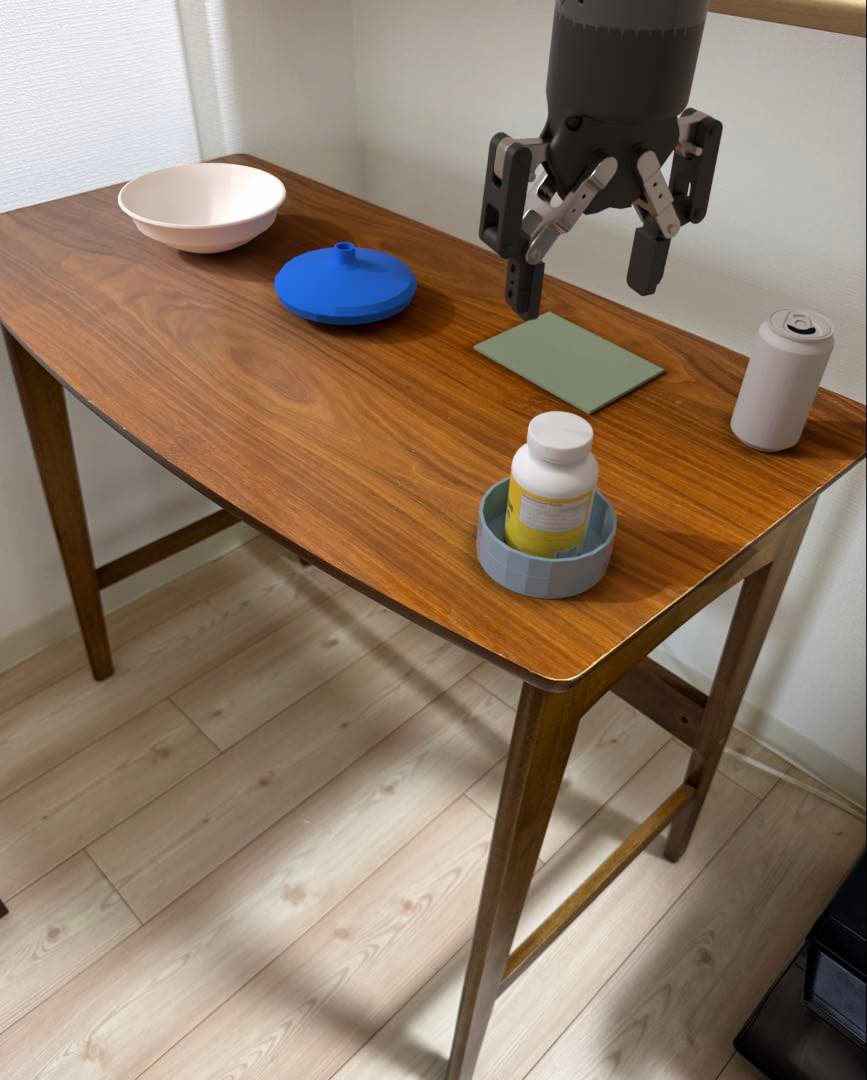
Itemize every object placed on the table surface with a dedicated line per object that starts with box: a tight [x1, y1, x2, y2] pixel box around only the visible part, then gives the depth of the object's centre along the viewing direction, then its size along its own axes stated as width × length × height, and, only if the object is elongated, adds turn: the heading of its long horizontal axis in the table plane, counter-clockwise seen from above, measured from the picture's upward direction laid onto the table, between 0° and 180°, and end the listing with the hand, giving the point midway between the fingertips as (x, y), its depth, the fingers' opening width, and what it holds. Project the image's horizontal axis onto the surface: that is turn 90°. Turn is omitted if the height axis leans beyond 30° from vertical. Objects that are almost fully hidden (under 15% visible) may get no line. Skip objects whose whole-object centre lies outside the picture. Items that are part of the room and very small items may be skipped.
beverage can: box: [730, 307, 836, 453], centre depth 82 cm, size 6×6×12 cm
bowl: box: [117, 162, 287, 254], centre depth 111 cm, size 20×20×6 cm
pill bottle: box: [504, 410, 600, 559], centre depth 68 cm, size 6×6×12 cm
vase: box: [273, 241, 418, 326], centre depth 99 cm, size 16×16×7 cm
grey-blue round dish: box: [475, 476, 618, 600], centre depth 71 cm, size 11×11×4 cm
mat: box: [473, 310, 665, 415], centre depth 94 cm, size 16×12×1 cm
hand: (583, 302), depth 56 cm, fingers open, 8 cm apart
